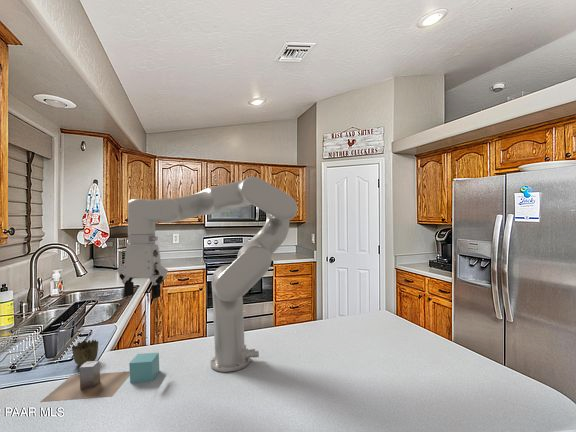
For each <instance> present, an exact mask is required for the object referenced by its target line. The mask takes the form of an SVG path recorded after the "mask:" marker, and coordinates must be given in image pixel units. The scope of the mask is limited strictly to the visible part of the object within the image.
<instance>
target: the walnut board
mask: <svg viewBox="0 0 576 432" xmlns="http://www.w3.org/2000/svg"><path fill="white" fill-rule="evenodd" d="M128 378H130V370H129V371H128V370H126V371H115V372H100V382H99V383H98V384H97V385H96V386H95V387H94V388H87V389H80V374H73V375H70V376H69V377H68V378H67V379H66V380H65V381H63V382H62V383H61V384H60V385H59V386H57V387H56V388H55V389H54V390H53V391H51V392H50V393H48V395H47V396H45V397H44V398H43V399H41V401H39V402H40V403H44V402H45V403H46V402H54V401H55V402H56V401H58V402H59V401H72V400H83V399H84V400H85V399H97V398H110V397H113V396H114V395H115V393H116V392H117V391H118V390H119V389H120V388H121V386H122V385H123V384H124V383H125V382H126V380H127V379H128Z"/></svg>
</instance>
